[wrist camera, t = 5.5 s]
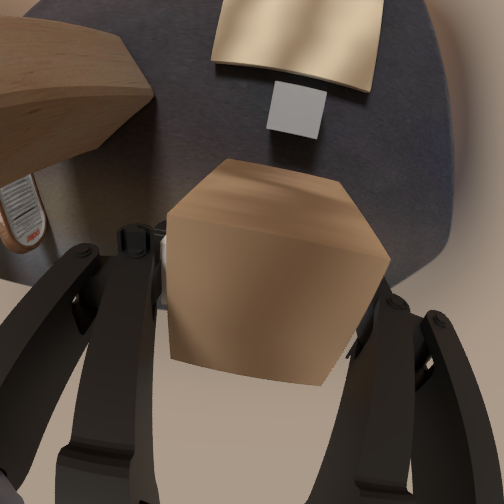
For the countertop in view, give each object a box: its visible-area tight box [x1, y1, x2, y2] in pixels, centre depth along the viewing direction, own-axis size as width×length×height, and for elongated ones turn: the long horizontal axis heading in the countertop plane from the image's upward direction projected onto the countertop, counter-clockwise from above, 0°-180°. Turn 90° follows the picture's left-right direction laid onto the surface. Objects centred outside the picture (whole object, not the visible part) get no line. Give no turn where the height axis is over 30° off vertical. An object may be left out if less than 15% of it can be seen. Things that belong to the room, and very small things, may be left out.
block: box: [0, 16, 154, 188], centre depth 13 cm, size 10×10×20 cm
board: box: [211, 0, 383, 93], centre depth 16 cm, size 14×12×2 cm
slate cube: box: [266, 81, 327, 139], centre depth 20 cm, size 4×4×4 cm
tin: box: [0, 173, 47, 254], centre depth 25 cm, size 15×3×8 cm, turn 12°
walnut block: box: [166, 159, 391, 386], centre depth 12 cm, size 6×6×8 cm
